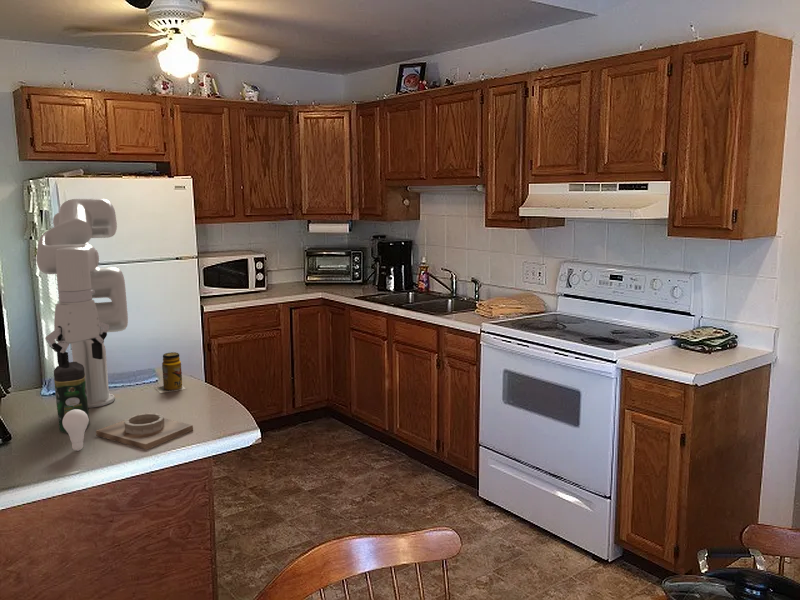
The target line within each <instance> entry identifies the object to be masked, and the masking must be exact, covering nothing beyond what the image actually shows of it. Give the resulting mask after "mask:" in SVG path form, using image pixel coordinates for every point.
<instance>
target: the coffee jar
mask: <svg viewBox="0 0 800 600" xmlns="http://www.w3.org/2000/svg"><path fill="white" fill-rule="evenodd" d="M53 381H54V392H55V393H54V394H55V403H56V411H57V419H58V428H59V430H60V432H62V433H68V432H67V431H66V430H65V429H64V427H63V424H62V421H63V417H64V416H65V414H66V413H67V412H69V411H71V410H74V409H79V410H82V411H84V412H85V413H86V414H87V415H88V418H89V419H90V414H89V412H90V411H89V408H88V402H87V391H86V380H85V371H84V366H83V365H82V364H80V363H77V362H73V361H69V368H62V367H59V365H58V366H56V367H55V368H54V370H53ZM89 425H90V422H89V423H88V425H87V428H86V429H88V428H89Z"/></svg>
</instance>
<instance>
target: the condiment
mask: <svg viewBox="0 0 800 600" xmlns="http://www.w3.org/2000/svg"><path fill="white" fill-rule="evenodd" d="M161 367H162V369H161V370H162V383H163V384H162V385H160V386H154V388H155V390H157V392H158V393H159V394H164V393H169V392H170V393H171V392H176V391H183V390H187V388H186V387H185V386H184V385H183V373H182V361H181V360H180V353H179V352H177V351H176V352H174V351H173V352H171V351H170V352H166V353H164V354H162V363H161Z"/></svg>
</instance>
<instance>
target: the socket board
mask: <svg viewBox="0 0 800 600" xmlns="http://www.w3.org/2000/svg"><path fill="white" fill-rule="evenodd" d="M193 426H194V425H193V424H189V423H187V422H186V423H185V422H181V421H178V420H173V419H169V418H166V417H164V415H163V414H160V413H156V412H143V413H138V414H134V415H131V416H129V417H127V418H125V420H121V421H119V422H116V423H114V424H113V423H112V424H111V425H108V426H105V427H101V428H100V429H99V428H98V429H97V430H95V435H96V437H99V438H104V439H106V438H107V439H106V440H109V441H114V442H118V443H121V444H124V445H129V446H132V447H135V448H139V449H142V450H149V449H151V448H154V447H156V446H158V445H161V444H163V443H166V442H168V441H170V440H173V439H175V438H178V437H181V436H182V435H185V434H187V433H190V432H192V431H193V430H194V427H193Z"/></svg>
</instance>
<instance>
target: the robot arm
mask: <svg viewBox="0 0 800 600" xmlns="http://www.w3.org/2000/svg"><path fill="white" fill-rule="evenodd" d="M116 215H117V214H116V211H115V208H114V206H113V204H112V202H111V201H109V200H108V199H106V198H73V199H67V200H65V201H64V202H63V203H62V204H61V206H60V207H59V212H57V213H56V214H54V216H53V219H52V224H53V227H52V228H49V230H47V231H45V232H44V233H43V234H41V236H40V237H39V239H38V243H37V249H36V264H37V267H38V270H40V272H41V273H43V274H46V275H56V280H57V281H56V283H57V290H58V291H57V292H58V293H57V295H58V303H56V304H55V308H54V309H55V310H54V320H53V321H54V322H53V323H54V324H53V325H54V326H53V328H54V330H52V331H51V332H49V334H48V335H47V336H45V338H44V339H45V341H46V343H47V345H49V348H51V349H53V351H54V352H55V353H56V359H57V364H58V366H59V367H62V368H69V362H70V361H69V353H68V352H67V350H68V348H69V346H70V345H71V355H72V362H77V363H80V364H82V365H83V366H84V371H85V380H86V391H87V402H88V409H91V408H100V407H103V406H107V405H110V404H111V403H113V402H114V401H115V399H116V396H115V395H114V394H113V393H110V389H109V376H108V375H109V373H108V363H107V349H106V345H105V344H104V343H105V339H106V338H107V336H108V333H116V332H117V333H118V332H122V331H125V330H126V329H127V327H128V323H129V317H128V316H129V314H128V305H127V304H128V302H127V292H126V283H125V275H124V274H123V273H124V272H122V270H121V269H120V268H117V267H113V266H110V267H108V266H106V267H99V266H98V265H99V261H100V258H99V257H100V256H99V252H98V250H97V249H96V248H95V246H93V245H91V244H90V243H89V242H90V240H91V239H102V238H103V239H106V238H107V239H108V238H112V237H114V236H115V235H116V232H117V228H118V226H117V225H118V224H117V216H116ZM94 299H110V301H106V302H105V301H104V302H103V301H102V302H96V301H95V300H94Z"/></svg>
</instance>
